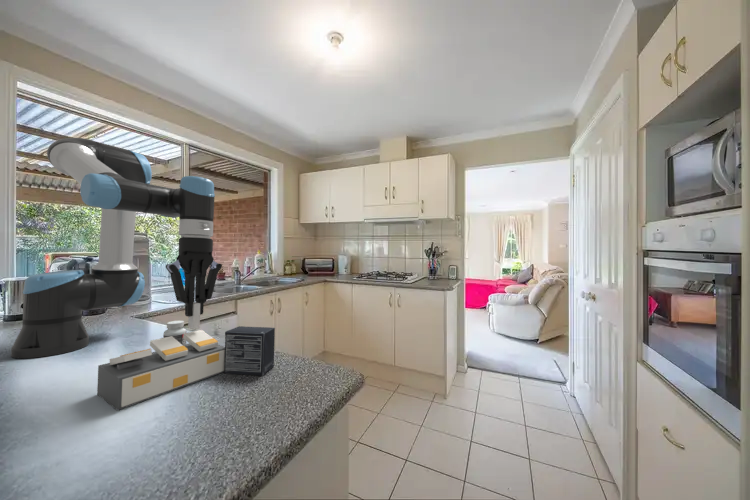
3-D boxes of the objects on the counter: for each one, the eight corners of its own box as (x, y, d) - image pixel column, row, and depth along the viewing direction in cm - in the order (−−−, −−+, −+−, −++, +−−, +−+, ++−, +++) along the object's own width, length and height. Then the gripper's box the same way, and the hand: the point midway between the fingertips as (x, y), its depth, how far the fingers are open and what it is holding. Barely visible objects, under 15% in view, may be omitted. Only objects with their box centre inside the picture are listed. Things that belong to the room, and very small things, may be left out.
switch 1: (109, 365, 58) (109, 358, 58) (136, 358, 62) (135, 352, 62) (124, 361, 54) (124, 354, 55) (151, 354, 58) (151, 348, 58)
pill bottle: (187, 356, 80) (188, 322, 80) (164, 361, 76) (165, 325, 76) (183, 351, 84) (184, 319, 84) (161, 355, 80) (162, 321, 80)
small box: (275, 365, 74) (276, 326, 75) (263, 376, 68) (264, 333, 68) (238, 363, 76) (239, 324, 76) (222, 373, 69) (223, 331, 69)
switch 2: (149, 345, 64) (150, 340, 64) (171, 340, 68) (172, 335, 68) (165, 361, 60) (166, 355, 60) (187, 354, 64) (188, 349, 64)
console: (97, 394, 58) (98, 361, 58) (202, 362, 76) (203, 337, 76) (118, 411, 52) (119, 374, 52) (226, 371, 70) (227, 344, 70)
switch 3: (183, 338, 70) (183, 333, 70) (201, 333, 74) (202, 329, 74) (199, 351, 66) (200, 346, 66) (217, 346, 70) (218, 341, 70)
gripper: (175, 235, 65) (172, 336, 65) (229, 238, 76) (226, 325, 76) (160, 235, 69) (157, 331, 68) (213, 239, 80) (211, 321, 80)
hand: (193, 328), depth 72 cm, fingers closed
